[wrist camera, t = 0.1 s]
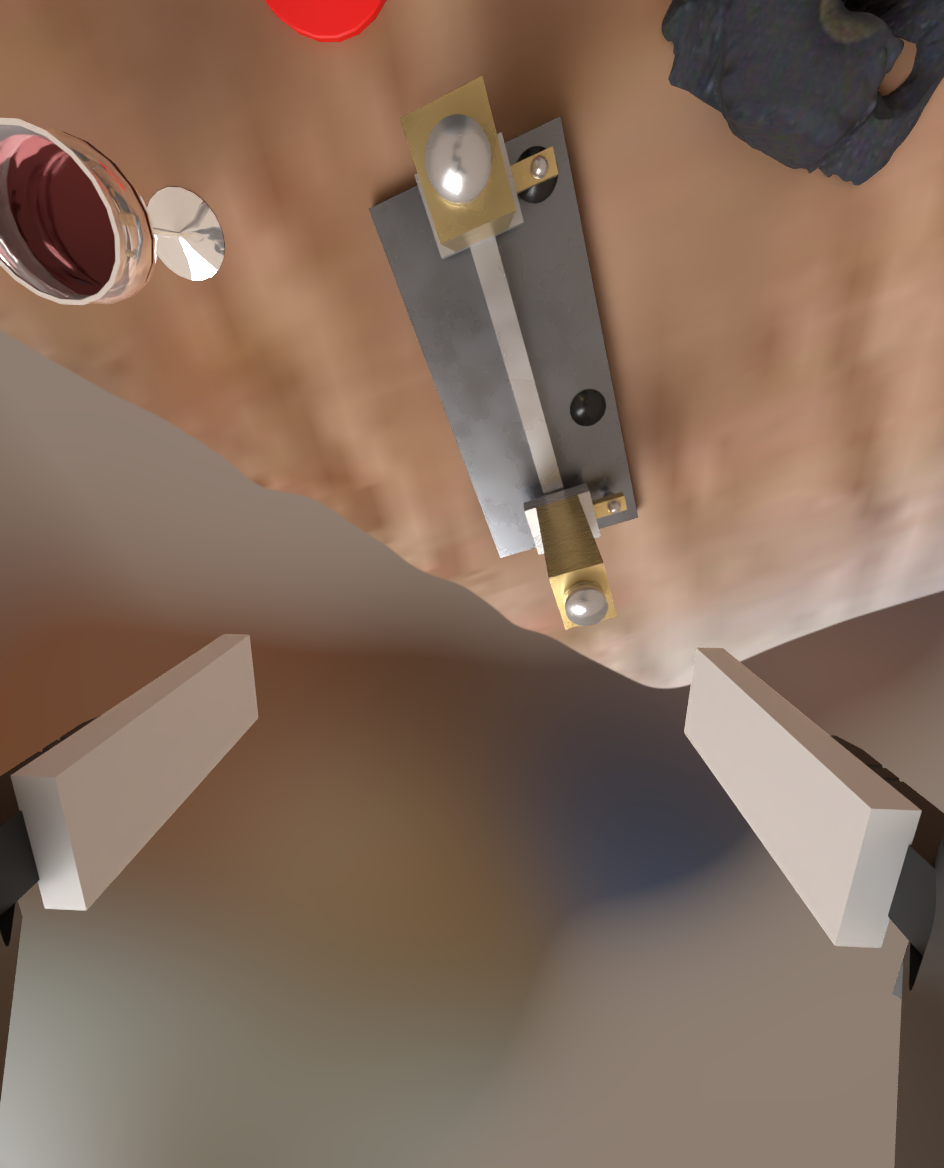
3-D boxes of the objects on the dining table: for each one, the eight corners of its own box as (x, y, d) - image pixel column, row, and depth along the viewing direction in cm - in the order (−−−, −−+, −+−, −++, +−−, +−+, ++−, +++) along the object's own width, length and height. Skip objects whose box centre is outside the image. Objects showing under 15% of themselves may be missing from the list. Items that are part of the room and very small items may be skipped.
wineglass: (161, 302, 34) (19, 315, 24) (110, 176, 30) (-83, 129, 20) (253, 288, 33) (149, 296, 23) (213, 159, 29) (68, 100, 19)
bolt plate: (372, 210, 30) (284, 166, 18) (558, 120, 28) (614, -7, 15) (500, 552, 43) (503, 670, 31) (635, 512, 41) (700, 622, 28)
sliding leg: (522, 497, 39) (535, 593, 27) (614, 468, 37) (669, 557, 26) (536, 539, 41) (553, 645, 29) (623, 513, 39) (678, 614, 28)
